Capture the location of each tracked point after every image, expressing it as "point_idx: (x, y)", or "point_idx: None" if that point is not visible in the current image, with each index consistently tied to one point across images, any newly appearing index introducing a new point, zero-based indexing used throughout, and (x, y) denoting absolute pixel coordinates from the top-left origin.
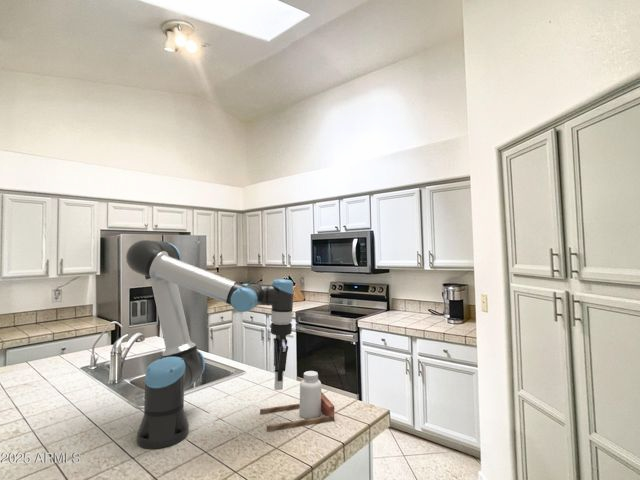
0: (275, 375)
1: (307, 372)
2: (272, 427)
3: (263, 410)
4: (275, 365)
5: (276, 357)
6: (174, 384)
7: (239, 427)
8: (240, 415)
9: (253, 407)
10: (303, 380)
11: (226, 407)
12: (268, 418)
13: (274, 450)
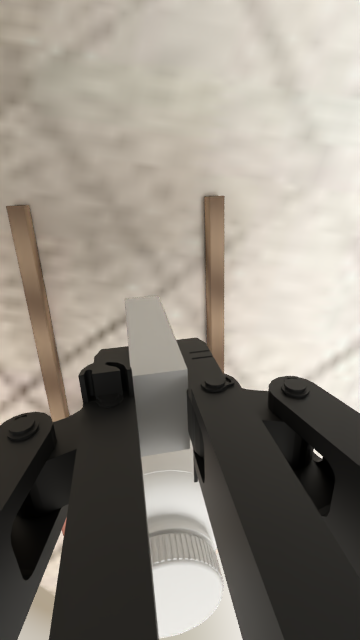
0: (149, 346)
1: (192, 584)
2: (14, 235)
3: (209, 213)
4: (223, 405)
5: (244, 544)
6: None
7: (86, 54)
8: (226, 81)
9: (292, 170)
10: (175, 509)
11: (350, 3)
12: (152, 231)
13: None
